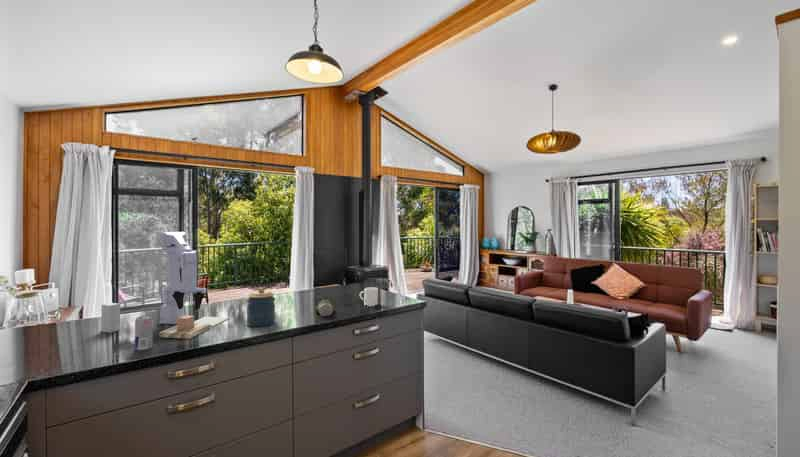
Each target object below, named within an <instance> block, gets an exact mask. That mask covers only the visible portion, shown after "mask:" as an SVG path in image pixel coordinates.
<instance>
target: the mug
mask: <svg viewBox="0 0 800 457" xmlns="http://www.w3.org/2000/svg"><path fill="white" fill-rule="evenodd" d="M362 294H363V296H362ZM358 296H359V298H360V299H361V300H362V301H363V305H364V306H365V305H367V306H366V307H376V306H375V305H377V304H378V303H379V302H378V301H379V299H378V298H379V288H378V287H375V286H374V287H373V286H372V287H370V286H369V287H365V288H364V290H362V291H360V292H359V295H358ZM378 305H379V304H378ZM378 305H377V306H378Z"/></svg>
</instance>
